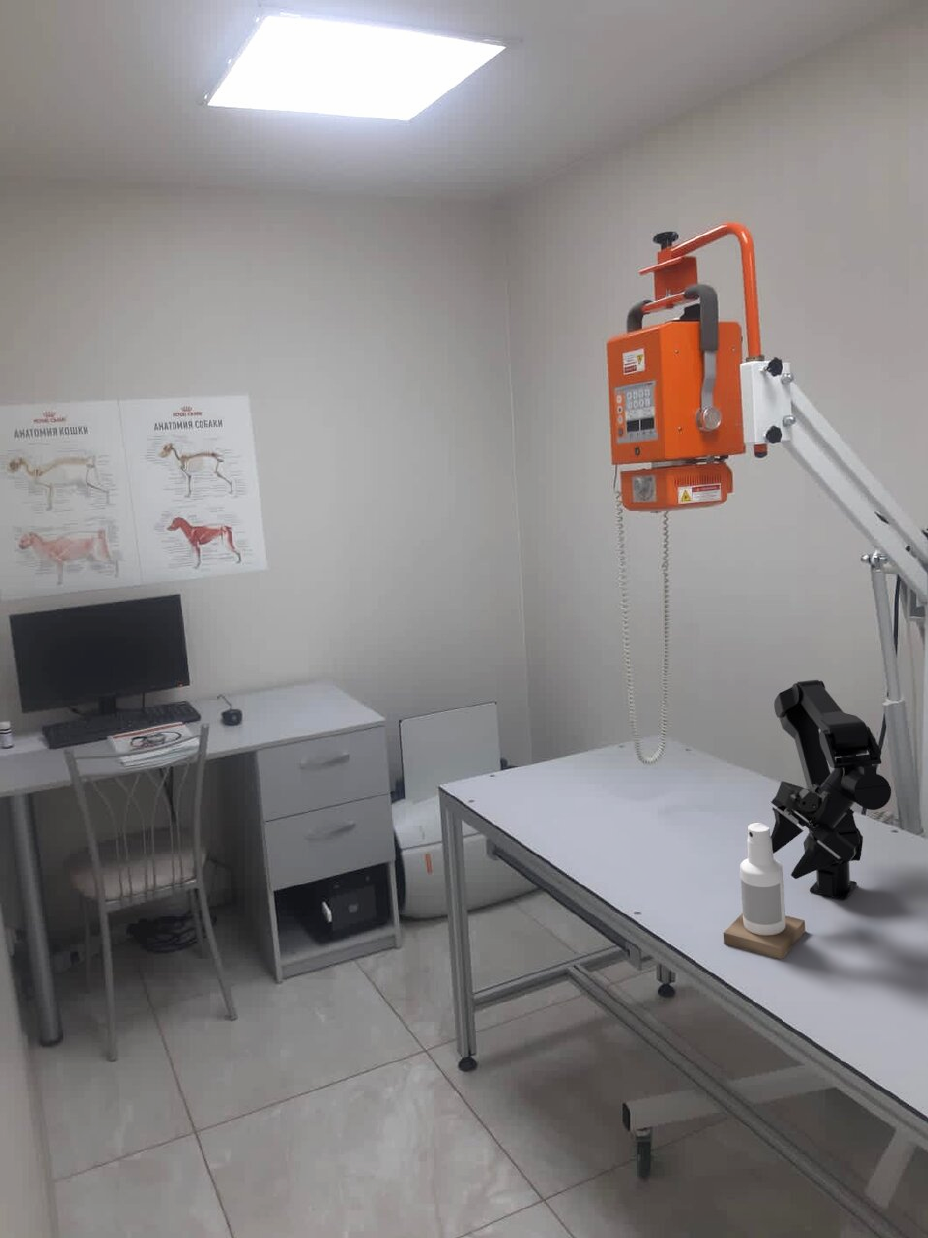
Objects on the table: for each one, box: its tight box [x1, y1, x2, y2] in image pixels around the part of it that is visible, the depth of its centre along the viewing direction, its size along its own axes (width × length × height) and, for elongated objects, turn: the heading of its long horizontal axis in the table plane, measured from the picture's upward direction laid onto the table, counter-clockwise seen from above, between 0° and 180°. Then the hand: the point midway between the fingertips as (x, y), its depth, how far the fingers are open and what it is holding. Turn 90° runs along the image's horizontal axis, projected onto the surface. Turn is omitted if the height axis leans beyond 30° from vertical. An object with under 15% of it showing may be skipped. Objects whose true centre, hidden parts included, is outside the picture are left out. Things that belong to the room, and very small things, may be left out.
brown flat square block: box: [723, 912, 806, 961], centre depth 165 cm, size 10×10×2 cm
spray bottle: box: [739, 822, 786, 936], centre depth 164 cm, size 7×7×18 cm
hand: (780, 865), depth 164 cm, fingers open, 9 cm apart
